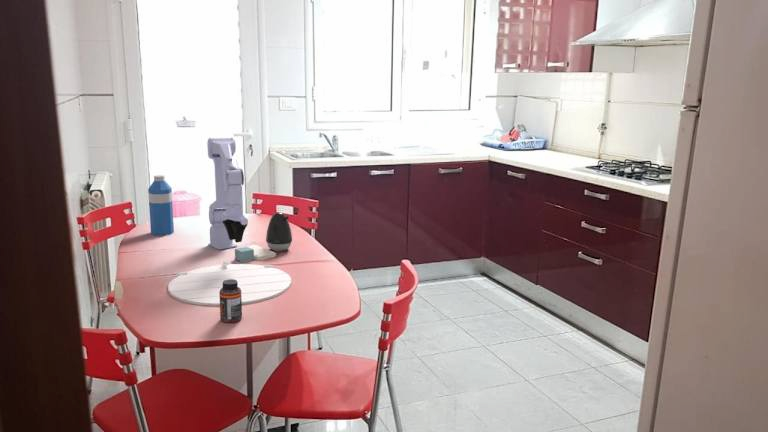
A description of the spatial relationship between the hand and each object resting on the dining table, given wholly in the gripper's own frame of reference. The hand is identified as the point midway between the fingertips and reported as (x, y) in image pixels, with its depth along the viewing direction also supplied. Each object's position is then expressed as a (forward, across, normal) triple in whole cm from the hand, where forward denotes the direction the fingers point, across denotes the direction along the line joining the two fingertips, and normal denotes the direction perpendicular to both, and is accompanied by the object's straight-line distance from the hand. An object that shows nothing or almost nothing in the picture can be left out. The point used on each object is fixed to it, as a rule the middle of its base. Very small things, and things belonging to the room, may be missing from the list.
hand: (235, 240), depth 215 cm
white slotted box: (+9, -8, +14) cm, 19 cm away
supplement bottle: (+10, +43, -26) cm, 51 cm away
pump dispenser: (+10, -8, +24) cm, 27 cm away
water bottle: (+10, -61, -1) cm, 62 cm away
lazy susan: (+10, +16, -11) cm, 22 cm away
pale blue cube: (+9, -4, +6) cm, 12 cm away
